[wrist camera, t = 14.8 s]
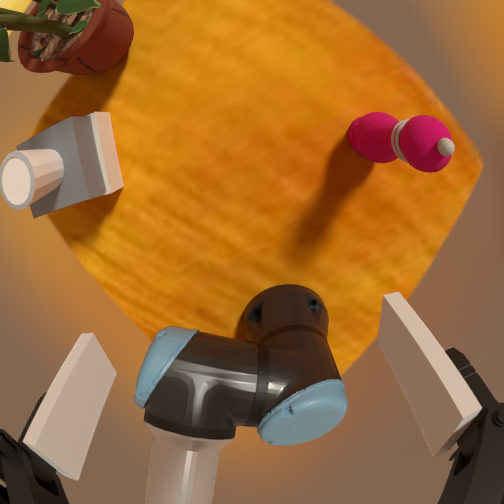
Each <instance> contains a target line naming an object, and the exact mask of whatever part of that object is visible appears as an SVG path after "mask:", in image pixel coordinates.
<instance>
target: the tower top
mask: <svg viewBox="0 0 504 504" xmlns="http://www.w3.org/2000/svg"><path fill="white" fill-rule="evenodd" d="M36 149H54V150H55V151H56V152H58V153H59V155H60V156H61V158H62V160H63V165H64V175H63V178H62V181H61V183H60V185H59V186H58V187H57V188H56V189H54V190H53V191H51V192H49V193H48V194H46V195H45V196H43V197H41V198H40V199H38V200H37V201H35V202H34V203H32V204H31V205H30V207H31V211H32V214H33V217H34V218H36V217H39V216H42V215H44V214H47V213H50V212H52V211H55V210H58V209H61V208H64V207H67V206H70V205H73V204H75V203H78V202H82V201H85V200H88V199H90V198H92V197H94V196H96V195H98V194H100V193H102V192H104V191H106V186H105V182H104V178H103V174H102V170H101V166H100V162H99V157H98V153H97V148H96V143H95V138H94V133H93V128H92V122H91V116H71V117H69V118H67V119H65V120H63V121H61V122H59V123H57V124H55V125H53V126H51V127H49V128H47V129H45V130H44V131H42V132H40V133H38V134H36V135H35V136H33V137H31V138H30V139H28V140H26V141H25V142H23V143H21V144H20V145H18V146H17V151H22V150H36Z"/></svg>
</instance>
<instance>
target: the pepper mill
mask: <svg viewBox="0 0 504 504" xmlns="http://www.w3.org/2000/svg"><path fill="white" fill-rule="evenodd" d="M348 138H349V142H350V144H351V146H352V148H353V149H354V150H355V151H356V152H357V153H358V154H360V155H363V156H364V157H365V158H367V159H368V160H370V161H372V162H376V163H387V162H391V161H394V160H395V159H397V158H400V159H401V160H403V161H404V162H407V163H409V164H410V165H411V166H413V167H414V168H415V169H417V170H420V171H422V172H430V173H431V172H437V171H439V170H441V169H443V168H444V167H445V166H446V165H447V164H448V163H449V161H450V159H451V157H452V154H453V153H454V144H453V142H452V138H451V135H450V133H449V131H448V129H447V128H446V126H445V125H444V124H443V123H442V122H441V121H439V120H438V119H436V118H434V117H431V116H427V115H419V116H416V117H413V118H411V119H410V120H409V119H406V120H402V121H400V122H399V121H398V120H397V119H395V118H394V117H392V116H390V115H388V114H386V113H381V112H372V113H369V114H366V115H365V116H362V117H359V118H357V119H356V120H354V121H353V122H352V124H351V126H350V128H349V132H348Z"/></svg>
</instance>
